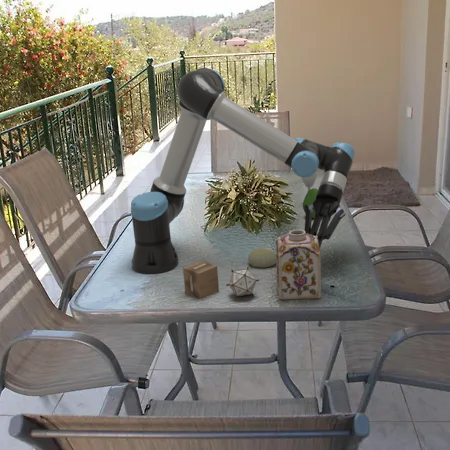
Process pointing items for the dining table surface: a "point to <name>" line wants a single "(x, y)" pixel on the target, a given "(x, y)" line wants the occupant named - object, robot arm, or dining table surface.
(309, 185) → the chalice
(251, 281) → the game die
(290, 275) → the decorative jar
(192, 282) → the marked walnut block
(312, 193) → the avocado
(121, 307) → the dining table surface
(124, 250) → the dining table surface
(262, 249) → the sea urchin shell
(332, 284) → the dining table surface
